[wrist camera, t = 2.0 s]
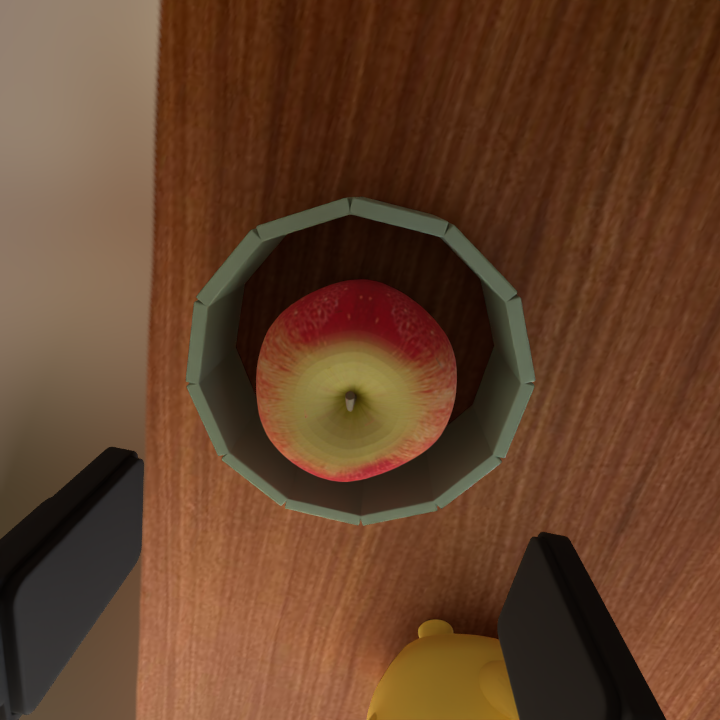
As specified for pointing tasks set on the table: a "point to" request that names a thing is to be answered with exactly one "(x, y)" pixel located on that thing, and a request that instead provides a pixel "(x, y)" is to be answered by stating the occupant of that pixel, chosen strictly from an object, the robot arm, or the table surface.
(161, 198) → the table surface
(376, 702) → the yellow two-handled pot
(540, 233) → the table surface
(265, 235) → the faceted green band
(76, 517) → the robot arm
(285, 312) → the apple
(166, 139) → the table surface
